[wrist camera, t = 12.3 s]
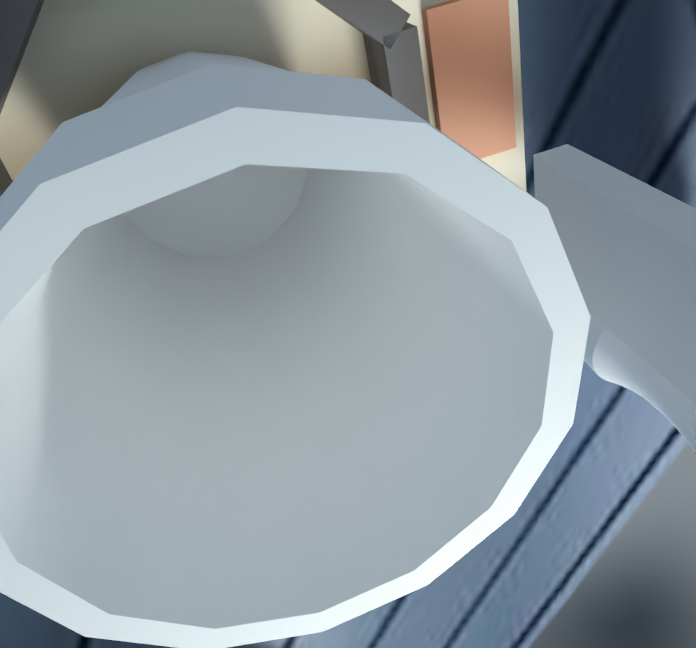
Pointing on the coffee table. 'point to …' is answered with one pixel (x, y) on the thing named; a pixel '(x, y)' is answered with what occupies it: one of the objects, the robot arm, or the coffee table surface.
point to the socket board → (269, 60)
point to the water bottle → (638, 378)
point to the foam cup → (266, 356)
